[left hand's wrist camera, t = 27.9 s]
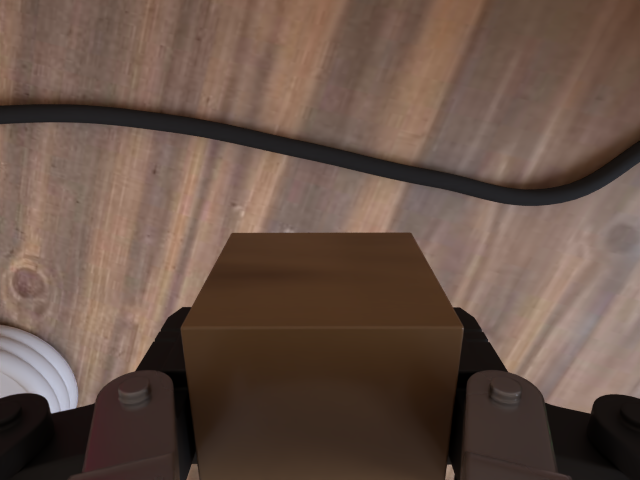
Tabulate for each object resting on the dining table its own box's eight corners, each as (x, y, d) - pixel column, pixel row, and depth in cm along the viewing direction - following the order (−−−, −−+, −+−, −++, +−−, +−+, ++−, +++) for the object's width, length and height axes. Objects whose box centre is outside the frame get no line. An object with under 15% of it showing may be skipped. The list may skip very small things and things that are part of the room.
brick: (400, 389, 13) (438, 542, 9) (242, 390, 13) (206, 541, 9) (411, 231, 12) (465, 327, 7) (231, 232, 12) (179, 327, 7)
